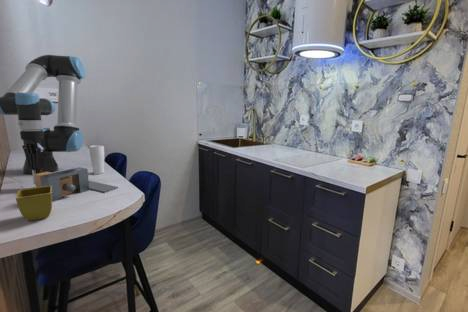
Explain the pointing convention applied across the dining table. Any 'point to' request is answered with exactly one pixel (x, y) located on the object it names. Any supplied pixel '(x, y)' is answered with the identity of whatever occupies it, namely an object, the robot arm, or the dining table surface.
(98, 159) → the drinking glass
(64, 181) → the plug
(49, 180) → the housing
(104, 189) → the mat
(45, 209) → the flower pot
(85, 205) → the dining table surface
